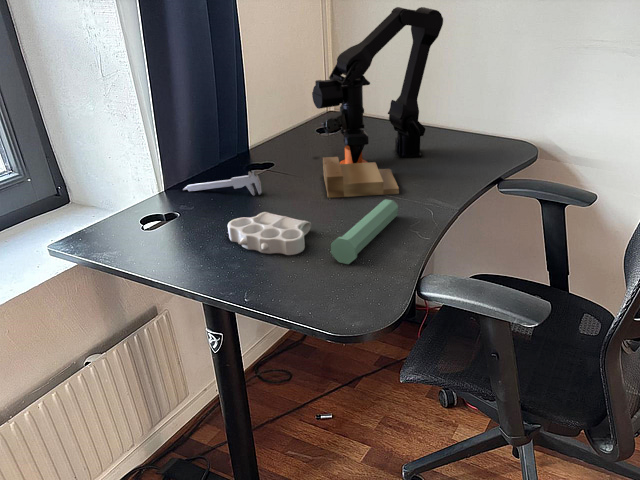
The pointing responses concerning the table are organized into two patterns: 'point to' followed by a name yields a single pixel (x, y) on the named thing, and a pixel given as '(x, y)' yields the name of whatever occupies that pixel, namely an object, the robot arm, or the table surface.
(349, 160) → the hat
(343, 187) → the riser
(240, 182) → the caliper
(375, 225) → the mint green bar
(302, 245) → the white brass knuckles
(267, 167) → the table surface
